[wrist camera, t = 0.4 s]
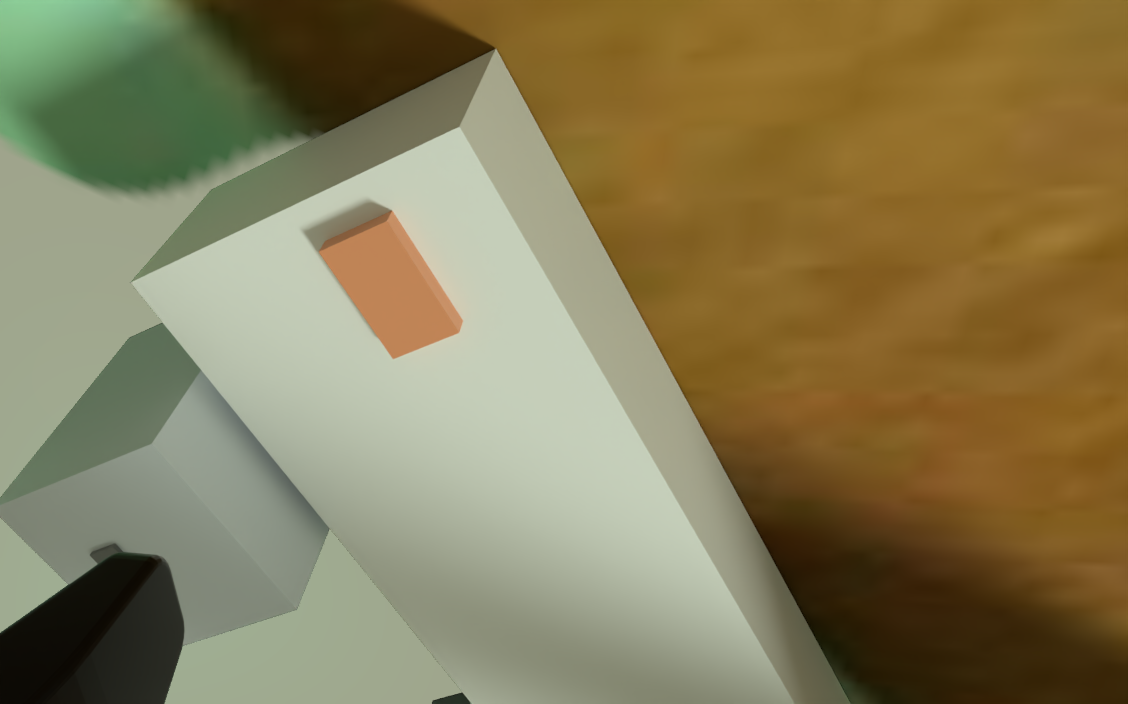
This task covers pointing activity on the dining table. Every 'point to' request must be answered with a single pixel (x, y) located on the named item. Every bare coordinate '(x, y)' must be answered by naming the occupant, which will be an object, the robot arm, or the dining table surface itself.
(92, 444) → the block
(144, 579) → the robot arm
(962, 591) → the dining table surface
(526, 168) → the power strip
